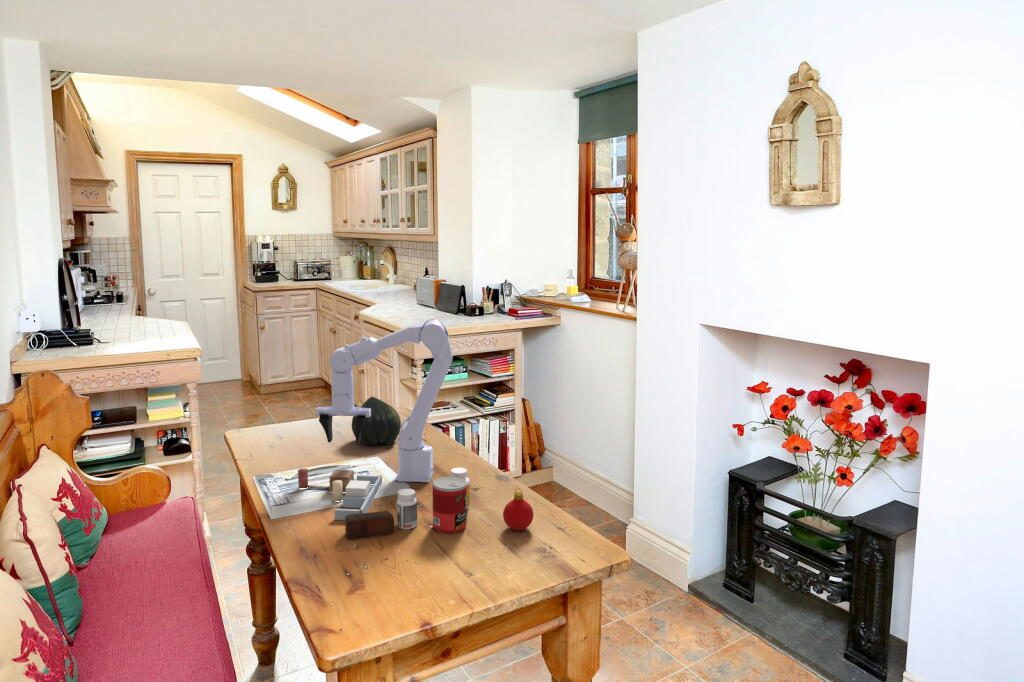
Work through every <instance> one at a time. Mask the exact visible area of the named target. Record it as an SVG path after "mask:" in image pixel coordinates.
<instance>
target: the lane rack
mask: <svg viewBox="0 0 1024 682" xmlns="http://www.w3.org/2000/svg"><path fill="white" fill-rule="evenodd" d="M356 481H370V484H374V485H370V493H369V494H368V496H367V497H346V496H343V498H342V499H343V501H342V508H334V520H335V521H345V516H347V515H351V514H361V513H368V511H369V509H370V507H371V506H372V504H373V502H374V500H375V498H376V497H375V495H376V493H377V491H378V489H379V487H380V486H381V484H382V485H383V475H375V474H374V475H372V474H369V475H367V474H365V475H362V474H356ZM381 487H382V486H381ZM381 487H380V488H381ZM379 490H380V489H379ZM378 492H379V491H378ZM377 494H378V493H377ZM376 496H377V495H376ZM374 497H375V498H374ZM373 499H374V500H373ZM352 508H353V509H352ZM354 508H358V509H354Z"/></svg>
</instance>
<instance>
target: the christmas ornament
mask: <svg viewBox="0 0 1024 682" xmlns="http://www.w3.org/2000/svg"><path fill="white" fill-rule="evenodd" d="M517 490H521V488H520V487H519V488H516V489H515V492H514V494H513V495H514V498H513V499H512V500H510V501H508V503H507V504H506V505H505V506H504V509H503V512H502V519H503V522H504V523H505V525H506V526H507V527H508V528H510V529H512V530H514V531H523V530H525V529H527V528H528V527H529V526H530V525H531V524H532V522H533V520H534V509H533V507H532V505H531V504H530V503H529V502H527V500H525V499H524V497H523V496H524V494H523V491H520V492H519V491H518V492H517Z"/></svg>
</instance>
